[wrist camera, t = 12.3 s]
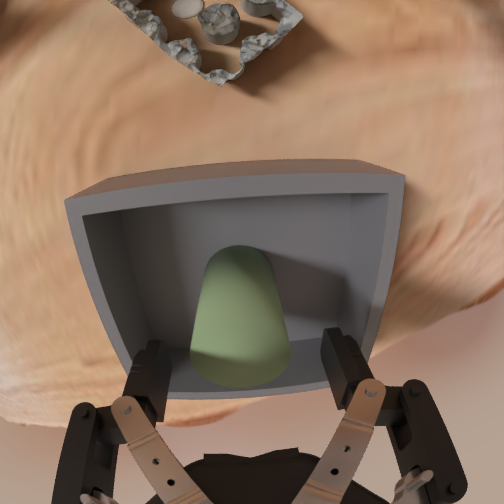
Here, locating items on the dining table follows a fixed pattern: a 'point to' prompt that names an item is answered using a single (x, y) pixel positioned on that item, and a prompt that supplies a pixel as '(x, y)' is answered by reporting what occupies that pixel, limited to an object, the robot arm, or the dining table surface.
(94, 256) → the bin
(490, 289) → the dining table surface
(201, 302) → the green capsule
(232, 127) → the dining table surface
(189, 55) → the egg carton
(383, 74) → the dining table surface
